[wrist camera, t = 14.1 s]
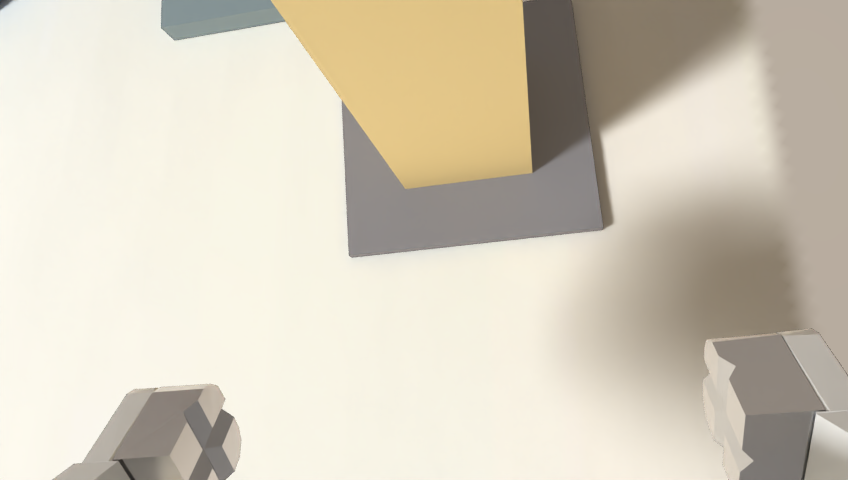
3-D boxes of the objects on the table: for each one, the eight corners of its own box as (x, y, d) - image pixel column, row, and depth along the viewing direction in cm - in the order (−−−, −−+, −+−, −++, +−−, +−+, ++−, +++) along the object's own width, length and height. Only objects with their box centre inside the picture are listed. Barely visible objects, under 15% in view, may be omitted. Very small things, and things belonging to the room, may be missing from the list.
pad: (602, 229, 22) (603, 227, 22) (352, 257, 24) (348, 255, 23) (570, 0, 24) (570, -6, 24) (341, 38, 26) (338, 33, 25)
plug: (532, 173, 23) (514, -131, 9) (405, 189, 24) (219, -72, 10) (518, 55, 24) (485, -370, 10) (397, 74, 25) (220, -300, 11)
